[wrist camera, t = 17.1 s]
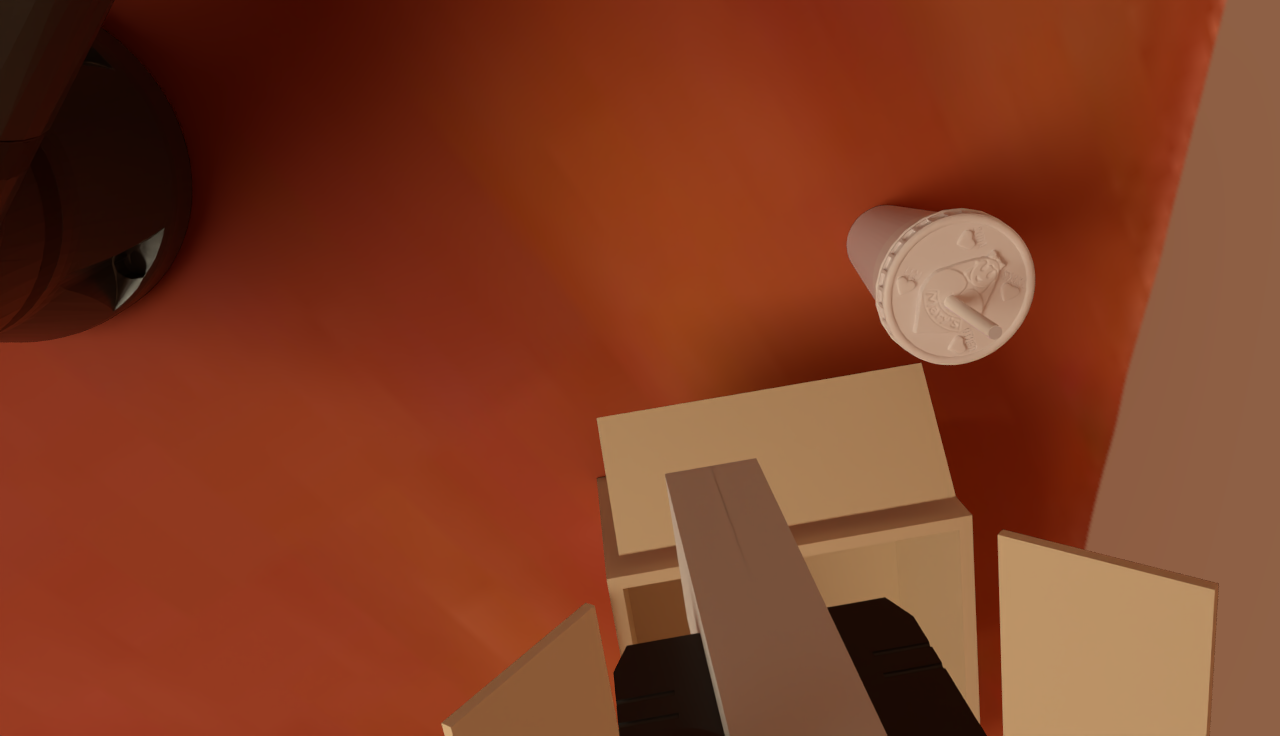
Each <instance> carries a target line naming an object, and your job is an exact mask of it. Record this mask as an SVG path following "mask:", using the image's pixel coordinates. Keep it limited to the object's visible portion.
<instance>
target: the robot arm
mask: <svg viewBox="0 0 1280 736" xmlns="http://www.w3.org/2000/svg"><path fill="white" fill-rule="evenodd" d="M113 2H114V0H0V342H38V341H46V340H52V339H57V338H62V337H66V336H69V335H73V334H76V333H80V332H82V331H85V330H88V329H91V328H93V327H95V326H97V325H99V324H102V323H103V322H105V321H107V320H109V319H110V318H112V317H114V316H115V315H117V314H118V313H120V312H122V311H123V310H125V309H126V308H128V307H129V306H131V305H132V304H134V303H135V302H137V301H138V300H139V299H141V298H142V297H143V296H144V295H146V294H147V293H148V292H149V291H150V290H151V289H152V288H153V287H154V286H155V285H156V284H157V283H158V282H159V280H160V279H161V278H162V277H163V276H164V274H165V273H166V272H167V270H168V269H169V267H170V266H171V264H172V262H173V261H174V259H175V257H176V255H177V253H178V251H179V249H180V247H181V244H182V242H183V239H184V236H185V233H186V230H187V226H188V222H189V217H190V211H191V202H192V177H191V168H190V162H189V157H188V152H187V148H186V144H185V140H184V137H183V134H182V132H181V129H180V126H179V124H178V121H177V119H176V117H175V114H174V112H173V110H172V108H171V106H170V104H169V102H168V101H167V99H166V97H165V96H164V94H163V92H162V91H161V89H160V88H159V86H158V85H157V83H156V82H155V80H154V79H153V78H152V76H151V75H150V74H149V72H148V71H147V70H146V69H145V67H144V66H143V65H142V64H141V63H140V62H139V61H138V60H137V58H136V57H135V56H134V55H133V54H132V53H131V52H130V51H129V50H128V49H127V48H126V47H125V46H124V45H122V44H121V43H120V42H119V41H118V40H117V39H116V38H114V37H113V36H112V35H111V34H109V33H108V32H107V31H105V30H104V29H103V28H101V26H102V24H103V22H104V20H105V18H106V16H107V14H108V12H109V10H110V8H111V6H112V4H113ZM665 479H666V485H667V492H668V498H669V505H670V511H671V518H672V524H673V530H674V537H675V543H676V550H677V556H678V563H679V569H680V575H681V582H682V588H683V595H684V601H685V608H686V614H687V620H688V624H689V628H690V633H691V634H690V635H684V636H678V637H673V638H667V639H661V640H656V641H650V642H645V643H639V644H633V645H628V646H626V648H625V650H624V652H623V654H622V656H621V658H620V660H619V662H618V664H617V666H616V669H615V671H614V683H615V694H616V703H617V715H618V725H619V736H987V735H986V734H985V732H984V730H983V729H982V727H981V725H980V724H979V722H978V721H977V719H976V717H975V716H974V714H973V712H972V711H971V709H970V707H969V706H968V704H967V703H966V701H965V699H964V698H963V696H962V694H961V693H960V691H959V690H958V688H957V686H956V685H955V683H954V681H953V680H952V678H951V676H950V675H949V673H948V672H947V670H946V668H943V666H942V662H941V660H940V659H939V657H938V655H937V654H936V652H935V650H934V649H933V647H930V644H929V641H928V639H927V637H926V636H925V634H924V632H923V631H922V629H921V628H920V626H919V624H918V623H917V621H916V619H915V618H914V616H912V615H911V614H909V613H908V612H906V611H905V610H903V609H902V608H900V607H899V606H897V605H896V604H895V603H893V602H892V601H890V600H889V599H887V598H886V597H883V598H878V599H872V600H866V601H861V602H855V603H849V604H844V605H838V606H832V607H826V605H825V602H824V600H823V598H822V596H821V594H820V592H819V590H818V588H817V586H816V583H815V581H814V579H813V577H812V575H811V573H810V571H809V569H808V567H807V564H806V562H805V560H804V558H803V556H802V554H801V552H800V550H799V547H798V545H797V543H796V541H795V539H794V537H793V535H792V533H791V531H790V528H789V526H788V524H787V522H786V520H785V518H784V516H783V514H782V511H781V509H780V507H779V505H778V503H777V501H776V499H775V497H774V495H773V492H772V490H771V488H770V486H769V484H768V482H767V480H766V478H765V475H764V473H763V471H762V469H761V467H760V465H759V463H758V461H757V459H756V458H754V459H748V460H742V461H736V462H730V463H725V464H719V465H713V466H707V467H701V468H696V469H690V470H684V471H678V472H672V473H667V474H665Z"/></svg>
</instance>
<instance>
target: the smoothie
mask: <svg viewBox="0 0 1280 736" xmlns="http://www.w3.org/2000/svg"><path fill="white" fill-rule="evenodd" d="M847 252H848V256H849V259H850V261H851V263H852V264H853V266H854V268H855V269H856V271H857V272H858V274H859V276H860V277H861V279H862V280H863V282H864V283H865V285H866V287H867V288H868V290H869V291H870V293H871V295H872V296H873V298H874V299H875V301H876V307H877V311H878V314H879V317H880V320H881V324H882V325H883V327H884V328H885V330H886V331H887V333H888V334H889V336H890V337H891V339H892V340H894V341H895V342H896V343H897V344H898V345H900V346H901V347H902V348H903V349H905V350H906V351H908V352H909V353H911V354H912V355H914V356H915V357H917V358H919V359H921V360H924V361H927V362H930V363H934V364H940V365H958V364H964V363H969V362H972V361H975V360H978V359H981V358H983V357H985V356H987V355H989V354H991V353H992V352H994V351H995V350H997V349H998V348H1000V347H1001V346H1002V345H1004V344H1005V343H1006V342H1007V341H1008V340H1009V339H1010V338H1011V337H1012V336H1013V335H1014V334H1015V332H1016V331H1017V330H1018V328H1019V327H1020V326H1021V324H1022V323H1023V321H1024V319H1025V317H1026V315H1027V313H1028V311H1029V309H1030V306H1031V303H1032V300H1033V295H1034V290H1035V269H1034V264H1033V260H1032V257H1031V254H1030V252H1029V249H1028V248H1027V246H1026V244H1025V242H1024V241H1023V240H1022V238H1021V237H1020V236H1019V235H1018V234H1017V233H1016V232H1015V231H1014V230H1013V229H1012V228H1011V227H1009V226H1008V225H1007V224H1005V223H1003V222H1002V221H1001V220H1000V219H998V218H996V217H994V216H992V215H990V214H987V213H985V212H983V211H979V210H972V209H966V208H958V209H949V210H941V211H939V212H934V211H927V210H920V209H913V208H907V207H900V206H893V205H882V206H877V207H874V208H871V209H869V210H868V211H866V212H864V213H863V214H862V215H861V216H860V217H859V218H858V219H857V220H856V221H855V222H854V224H853V226H852V227H851V229H850V232H849V235H848V239H847Z"/></svg>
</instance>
